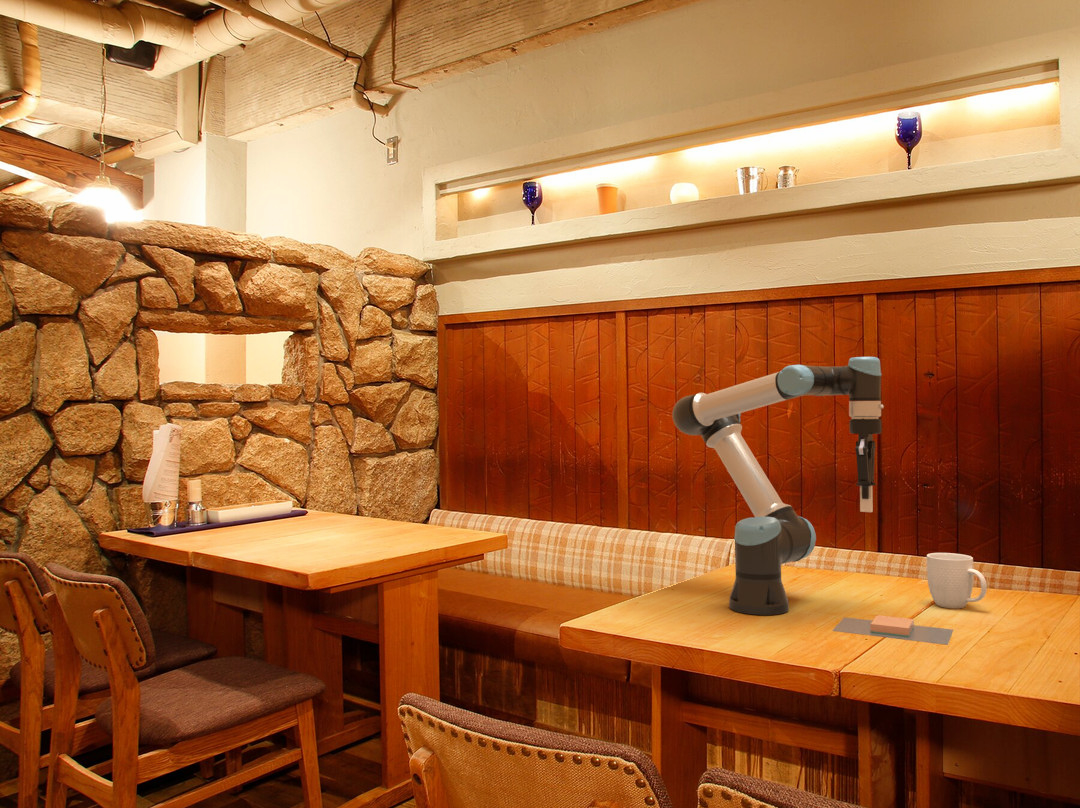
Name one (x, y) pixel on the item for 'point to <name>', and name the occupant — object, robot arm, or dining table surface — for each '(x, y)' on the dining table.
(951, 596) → the mug
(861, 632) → the slate board
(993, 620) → the dining table surface
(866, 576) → the dining table surface
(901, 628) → the tile
